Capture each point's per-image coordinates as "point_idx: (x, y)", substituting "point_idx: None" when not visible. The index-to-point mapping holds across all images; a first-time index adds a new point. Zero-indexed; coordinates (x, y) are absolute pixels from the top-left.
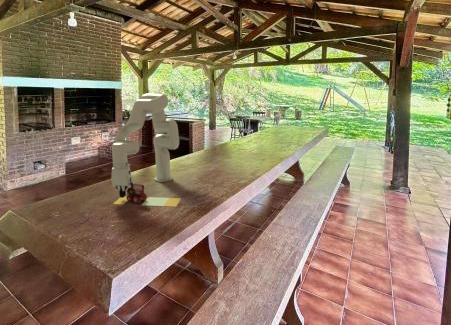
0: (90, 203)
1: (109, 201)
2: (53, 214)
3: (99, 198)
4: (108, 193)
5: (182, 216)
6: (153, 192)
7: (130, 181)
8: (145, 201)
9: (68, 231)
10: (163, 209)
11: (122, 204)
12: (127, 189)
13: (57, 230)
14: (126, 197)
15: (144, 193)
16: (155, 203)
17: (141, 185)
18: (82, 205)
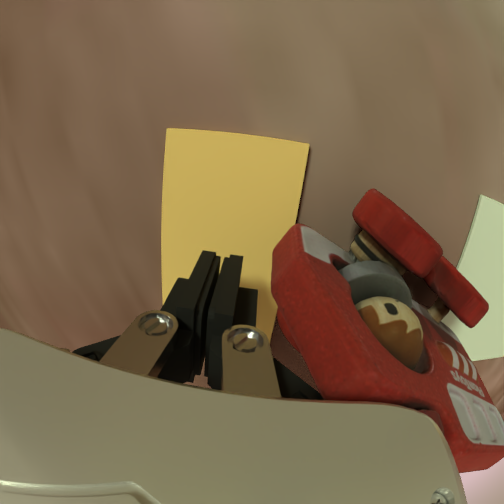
0: (23, 303)
1: (106, 281)
2: None
3: (11, 208)
4: (25, 73)
5: (501, 410)
6: (496, 58)
7: (416, 445)
8: None
9: None
10: (485, 384)
11: None
12: (291, 330)
13: None
14: (278, 322)
15: (485, 313)
16: (488, 332)
17: (487, 468)
18: (14, 324)
